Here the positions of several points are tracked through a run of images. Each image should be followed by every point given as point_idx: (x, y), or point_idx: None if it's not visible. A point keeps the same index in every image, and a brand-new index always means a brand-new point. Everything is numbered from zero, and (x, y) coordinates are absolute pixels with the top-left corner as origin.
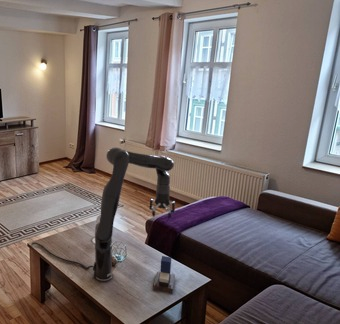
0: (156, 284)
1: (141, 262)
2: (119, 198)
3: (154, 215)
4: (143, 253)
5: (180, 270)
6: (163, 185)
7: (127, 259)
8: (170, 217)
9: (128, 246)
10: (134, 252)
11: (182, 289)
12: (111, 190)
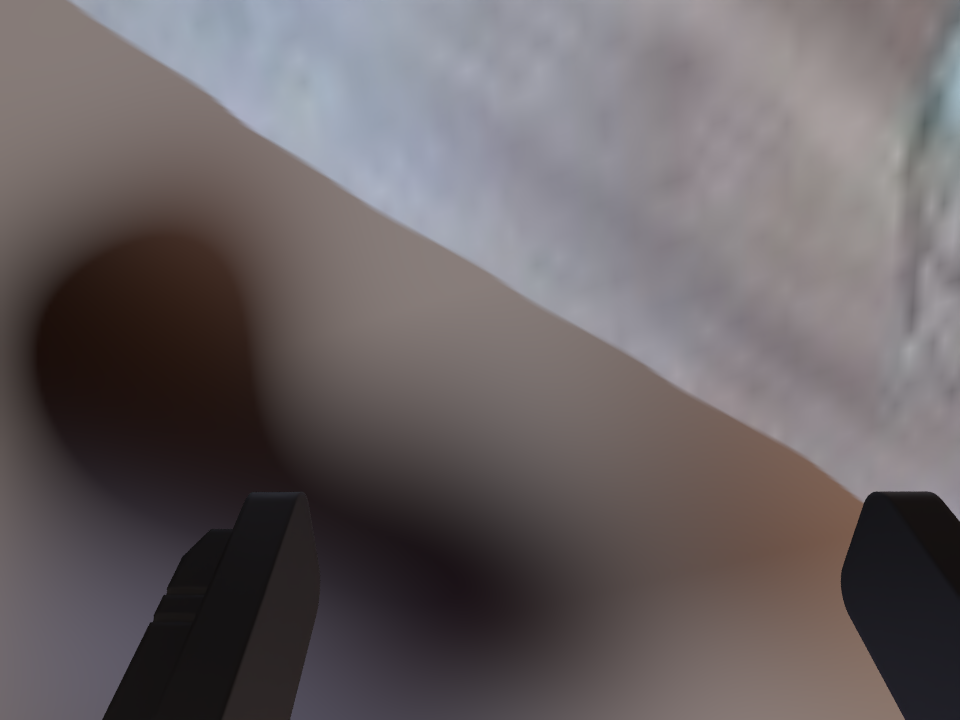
0: None
1: (722, 44)
2: None
3: (905, 535)
4: (703, 248)
5: (242, 23)
6: None
7: (901, 55)
8: (196, 548)
9: (875, 334)
10: (808, 237)
11: None
12: None
